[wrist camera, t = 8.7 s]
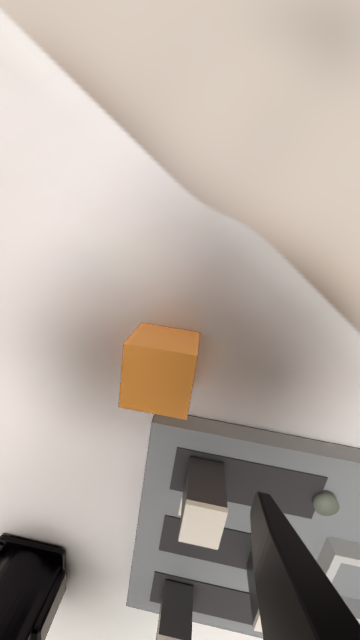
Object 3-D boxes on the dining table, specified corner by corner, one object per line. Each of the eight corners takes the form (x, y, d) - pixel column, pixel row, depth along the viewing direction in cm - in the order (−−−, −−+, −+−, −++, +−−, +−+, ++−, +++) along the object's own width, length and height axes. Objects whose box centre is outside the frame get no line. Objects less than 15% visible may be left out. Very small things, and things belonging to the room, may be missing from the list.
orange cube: (136, 374, 19) (118, 407, 15) (141, 322, 18) (123, 343, 14) (190, 384, 19) (186, 419, 15) (199, 331, 17) (197, 355, 14)
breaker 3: (246, 567, 20) (253, 630, 17) (254, 540, 20) (264, 601, 16) (276, 574, 20) (290, 639, 17) (286, 547, 19) (303, 610, 16)
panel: (130, 585, 25) (121, 624, 22) (156, 409, 19) (148, 434, 17) (346, 635, 24) (363, 682, 21) (440, 464, 18) (479, 500, 16)
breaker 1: (160, 602, 23) (152, 664, 19) (165, 579, 22) (157, 640, 18) (187, 608, 23) (184, 672, 19) (193, 586, 22) (190, 648, 18)
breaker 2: (183, 489, 19) (178, 541, 16) (190, 456, 18) (185, 504, 15) (215, 495, 19) (217, 550, 15) (224, 463, 18) (227, 513, 15)
